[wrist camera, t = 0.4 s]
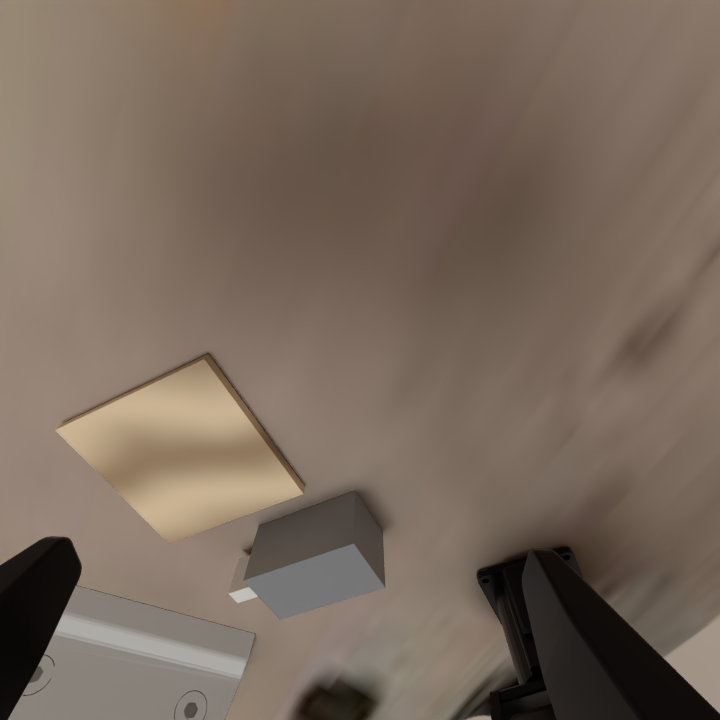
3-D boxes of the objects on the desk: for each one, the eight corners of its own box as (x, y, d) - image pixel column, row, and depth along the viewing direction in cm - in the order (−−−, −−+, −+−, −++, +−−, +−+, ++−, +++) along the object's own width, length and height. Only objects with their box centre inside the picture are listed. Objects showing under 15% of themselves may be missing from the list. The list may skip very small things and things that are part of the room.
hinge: (260, 635, 32) (207, 826, 25) (248, 643, 35) (198, 814, 28) (35, 574, 29) (-97, 772, 22) (45, 589, 32) (-67, 766, 25)
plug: (355, 488, 25) (382, 529, 27) (230, 534, 27) (262, 570, 29) (353, 543, 22) (385, 587, 23) (209, 591, 24) (247, 629, 25)
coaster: (304, 486, 25) (303, 494, 24) (173, 535, 27) (169, 543, 26) (208, 353, 21) (204, 359, 20) (62, 423, 23) (55, 430, 23)
